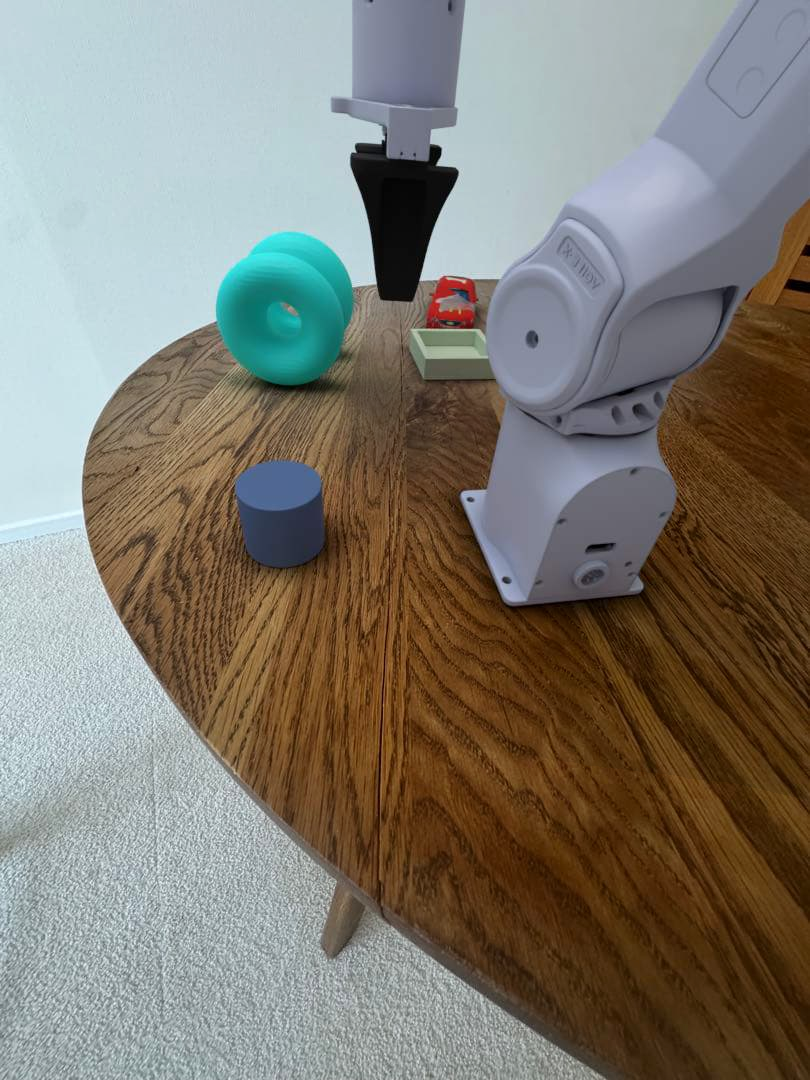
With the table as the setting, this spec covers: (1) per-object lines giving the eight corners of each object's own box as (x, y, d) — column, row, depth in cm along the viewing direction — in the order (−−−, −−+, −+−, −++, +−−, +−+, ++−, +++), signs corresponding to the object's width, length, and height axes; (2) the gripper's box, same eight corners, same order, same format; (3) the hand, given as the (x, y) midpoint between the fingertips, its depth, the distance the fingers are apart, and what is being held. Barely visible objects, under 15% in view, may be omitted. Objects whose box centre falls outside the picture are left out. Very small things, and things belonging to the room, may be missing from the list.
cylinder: (327, 564, 27) (324, 507, 25) (243, 571, 27) (231, 512, 24) (322, 513, 31) (319, 458, 28) (247, 518, 30) (237, 461, 27)
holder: (498, 379, 47) (502, 358, 46) (423, 380, 46) (425, 358, 44) (476, 348, 52) (479, 328, 51) (408, 348, 51) (410, 328, 49)
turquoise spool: (355, 349, 50) (355, 233, 43) (342, 396, 42) (341, 264, 35) (253, 341, 49) (238, 223, 43) (222, 386, 42) (198, 251, 35)
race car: (472, 344, 53) (478, 304, 50) (421, 338, 53) (424, 298, 51) (477, 304, 63) (483, 269, 60) (434, 299, 63) (438, 264, 60)
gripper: (336, -5, 30) (340, 251, 39) (316, -53, 19) (327, 314, 28) (453, 8, 31) (429, 257, 40) (496, -32, 20) (451, 321, 29)
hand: (394, 281), depth 34 cm, fingers open, 7 cm apart
